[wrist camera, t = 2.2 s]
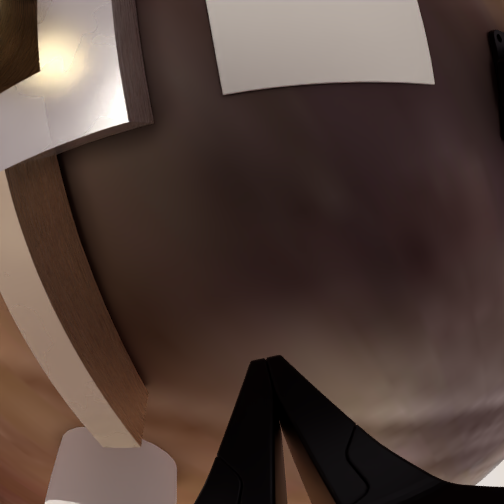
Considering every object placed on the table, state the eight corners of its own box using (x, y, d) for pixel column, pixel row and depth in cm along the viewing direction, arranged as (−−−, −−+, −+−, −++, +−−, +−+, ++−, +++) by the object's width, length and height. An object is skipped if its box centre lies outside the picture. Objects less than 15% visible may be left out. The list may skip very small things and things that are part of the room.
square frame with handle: (129, -81, 6) (111, -125, 3) (223, 382, 14) (229, 439, 11) (-50, 17, 5) (-92, 9, 2) (58, 397, 14) (41, 443, 11)
